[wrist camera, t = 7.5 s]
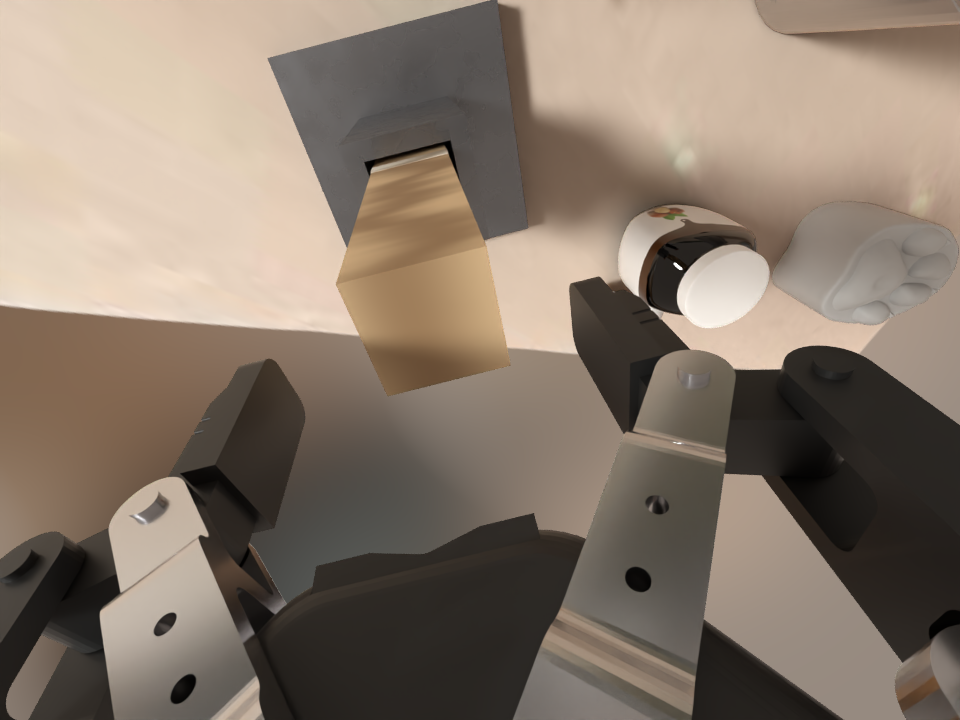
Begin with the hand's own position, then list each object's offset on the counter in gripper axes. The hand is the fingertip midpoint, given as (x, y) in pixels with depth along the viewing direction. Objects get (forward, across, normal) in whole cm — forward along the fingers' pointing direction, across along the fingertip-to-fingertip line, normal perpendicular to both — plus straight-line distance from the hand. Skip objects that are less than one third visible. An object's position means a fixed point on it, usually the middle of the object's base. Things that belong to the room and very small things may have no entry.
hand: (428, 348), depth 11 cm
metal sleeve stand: (+29, 0, 0) cm, 29 cm away
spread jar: (+29, -20, +15) cm, 39 cm away
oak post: (+21, 0, 0) cm, 21 cm away
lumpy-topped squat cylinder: (+30, -42, +20) cm, 55 cm away
